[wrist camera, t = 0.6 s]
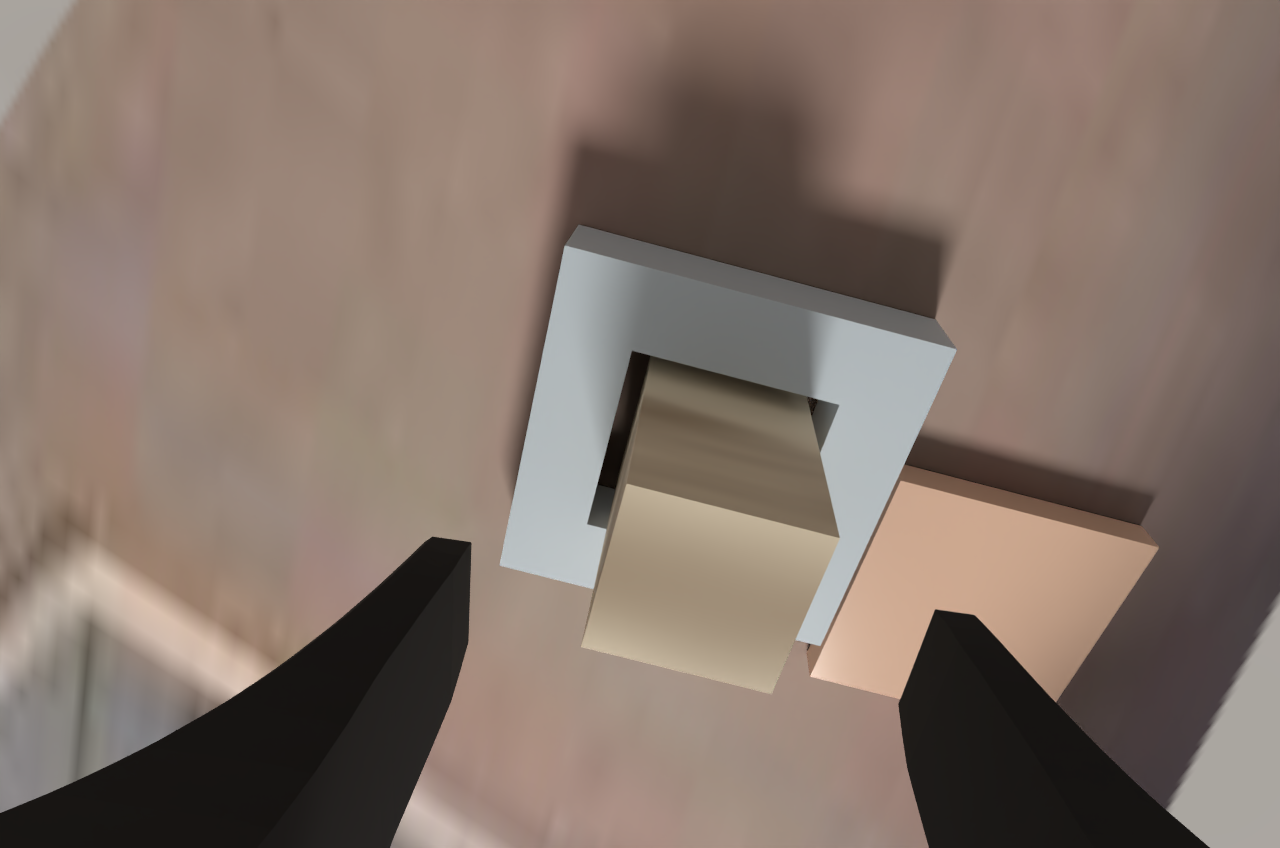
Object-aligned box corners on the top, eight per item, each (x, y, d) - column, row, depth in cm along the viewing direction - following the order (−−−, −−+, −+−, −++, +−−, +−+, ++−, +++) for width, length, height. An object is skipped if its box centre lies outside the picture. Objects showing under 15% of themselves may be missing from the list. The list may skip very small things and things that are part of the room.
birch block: (756, 508, 23) (771, 694, 17) (618, 473, 23) (581, 647, 16) (803, 382, 21) (840, 538, 15) (654, 343, 21) (626, 483, 15)
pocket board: (812, 599, 24) (820, 646, 22) (516, 524, 24) (499, 565, 22) (935, 319, 20) (957, 349, 18) (578, 224, 20) (564, 245, 18)
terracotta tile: (1023, 707, 25) (1035, 732, 24) (806, 652, 25) (809, 676, 24) (1141, 525, 22) (1159, 547, 21) (893, 461, 22) (900, 480, 21)
